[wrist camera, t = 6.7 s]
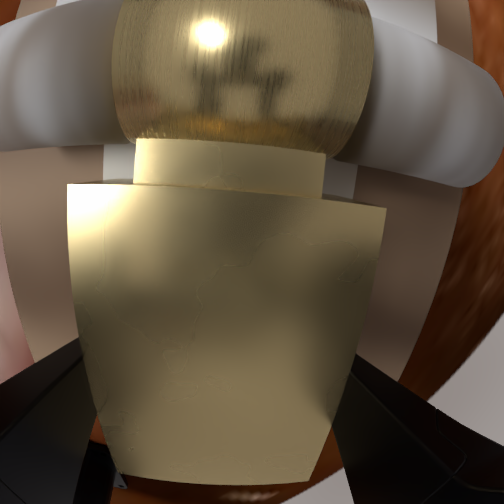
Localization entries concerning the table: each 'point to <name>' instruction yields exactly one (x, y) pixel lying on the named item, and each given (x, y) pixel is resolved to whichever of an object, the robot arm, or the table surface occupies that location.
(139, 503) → the table surface
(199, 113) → the perfume bottle
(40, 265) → the hinge base
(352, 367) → the robot arm
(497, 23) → the table surface
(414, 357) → the table surface
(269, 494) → the table surface
